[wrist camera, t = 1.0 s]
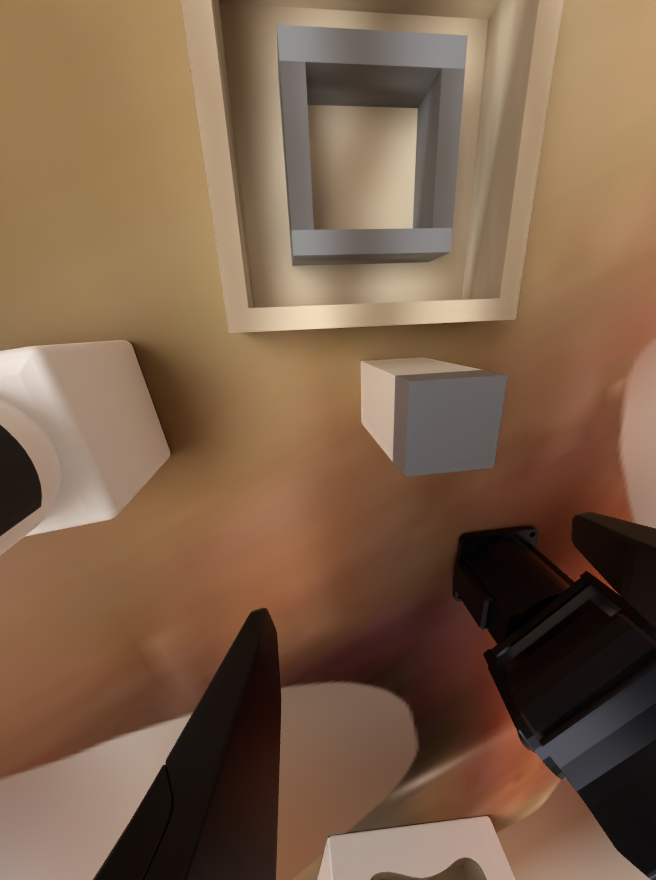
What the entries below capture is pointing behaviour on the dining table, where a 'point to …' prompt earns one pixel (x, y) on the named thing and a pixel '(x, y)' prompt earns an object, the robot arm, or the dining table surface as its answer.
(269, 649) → the robot arm
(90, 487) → the medicine bottle
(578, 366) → the dining table surface
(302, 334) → the dining table surface
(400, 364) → the grey rectangular prism
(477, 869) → the gable box
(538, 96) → the socket box
